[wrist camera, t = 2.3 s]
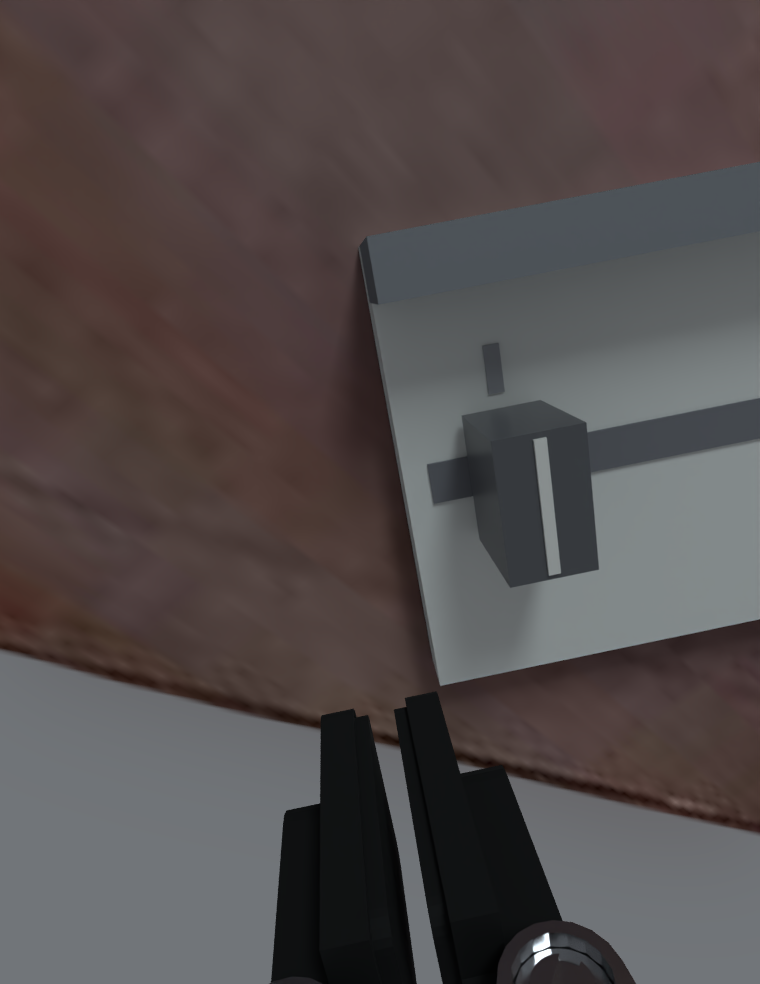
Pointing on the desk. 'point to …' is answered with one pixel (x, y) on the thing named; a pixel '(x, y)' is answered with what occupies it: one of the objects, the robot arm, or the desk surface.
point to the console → (583, 408)
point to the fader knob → (532, 491)
